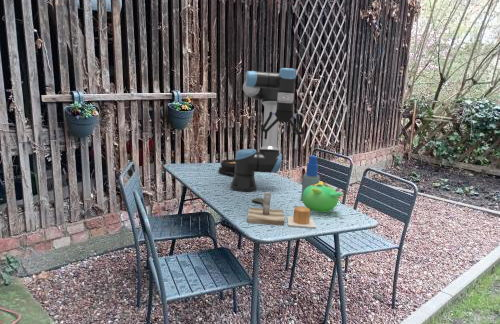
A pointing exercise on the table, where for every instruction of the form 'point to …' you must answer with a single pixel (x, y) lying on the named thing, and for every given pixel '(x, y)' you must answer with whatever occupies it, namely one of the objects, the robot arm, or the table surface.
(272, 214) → the post base
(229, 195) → the table surface
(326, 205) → the toy bird
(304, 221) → the cap
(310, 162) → the spray bottle
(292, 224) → the pad
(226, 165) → the casserole
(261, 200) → the weathered bronze handle
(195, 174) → the table surface
